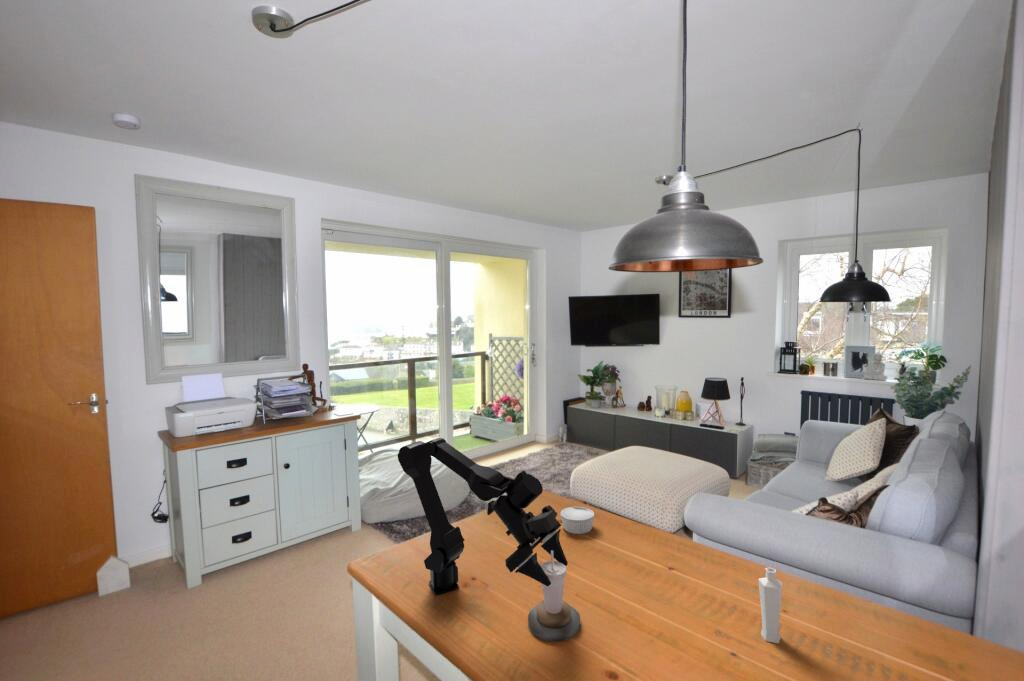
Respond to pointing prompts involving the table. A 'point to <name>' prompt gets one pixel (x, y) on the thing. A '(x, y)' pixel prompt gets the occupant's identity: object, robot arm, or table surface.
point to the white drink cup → (553, 585)
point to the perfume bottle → (770, 605)
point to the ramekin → (577, 519)
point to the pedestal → (554, 622)
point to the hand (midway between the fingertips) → (558, 574)
